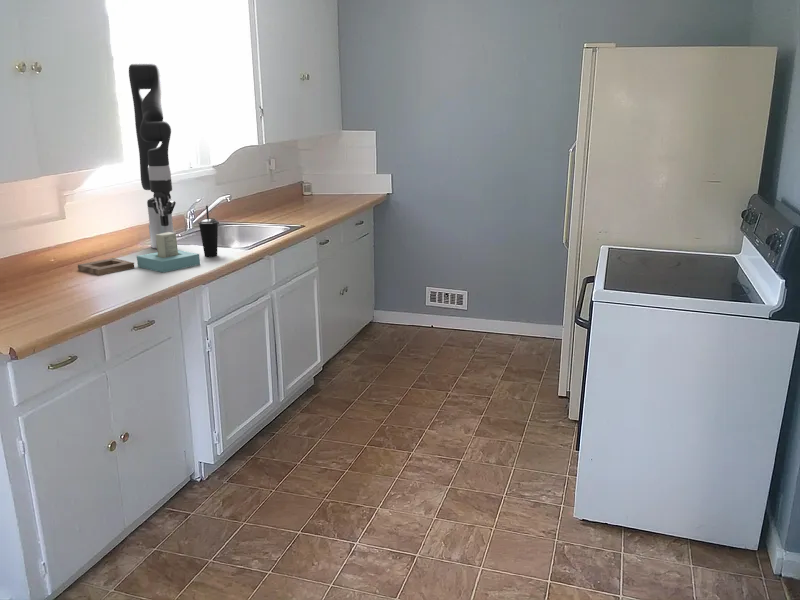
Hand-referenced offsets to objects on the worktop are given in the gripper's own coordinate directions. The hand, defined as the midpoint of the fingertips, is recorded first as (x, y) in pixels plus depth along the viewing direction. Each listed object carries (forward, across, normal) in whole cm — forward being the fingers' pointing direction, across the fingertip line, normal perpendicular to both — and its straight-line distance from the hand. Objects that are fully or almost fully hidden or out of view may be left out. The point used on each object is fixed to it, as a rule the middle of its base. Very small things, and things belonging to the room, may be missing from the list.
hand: (165, 225), depth 257 cm
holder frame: (+15, -14, -17) cm, 27 cm away
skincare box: (+15, 0, 0) cm, 15 cm away
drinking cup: (+15, -1, +20) cm, 25 cm away
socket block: (+15, 0, 0) cm, 15 cm away
